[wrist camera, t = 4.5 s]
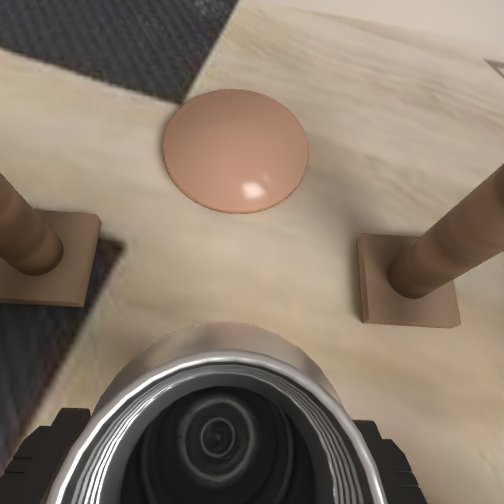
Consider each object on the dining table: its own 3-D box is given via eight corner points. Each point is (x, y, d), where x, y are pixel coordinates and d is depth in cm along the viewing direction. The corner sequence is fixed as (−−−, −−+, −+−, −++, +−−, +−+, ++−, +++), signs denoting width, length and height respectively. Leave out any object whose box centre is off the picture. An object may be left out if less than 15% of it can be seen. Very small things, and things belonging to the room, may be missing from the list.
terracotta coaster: (330, 138, 31) (333, 131, 30) (259, 241, 27) (260, 236, 26) (217, 77, 33) (217, 69, 32) (134, 165, 29) (132, 158, 28)
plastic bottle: (142, 485, 21) (-396, 994, 3) (183, 361, 24) (64, 175, 5) (256, 520, 21) (559, 1343, 2) (285, 391, 23) (533, 308, 5)
